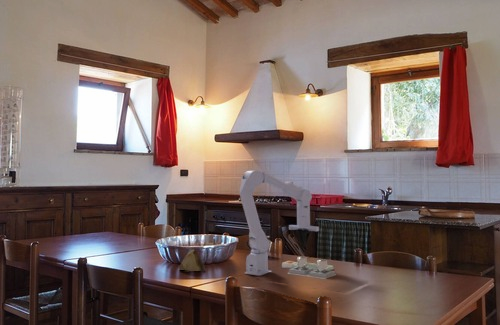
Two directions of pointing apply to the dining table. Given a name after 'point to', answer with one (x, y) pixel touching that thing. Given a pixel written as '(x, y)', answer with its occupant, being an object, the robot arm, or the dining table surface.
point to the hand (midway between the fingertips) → (303, 246)
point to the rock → (192, 262)
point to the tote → (315, 266)
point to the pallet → (311, 273)
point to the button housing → (288, 265)
